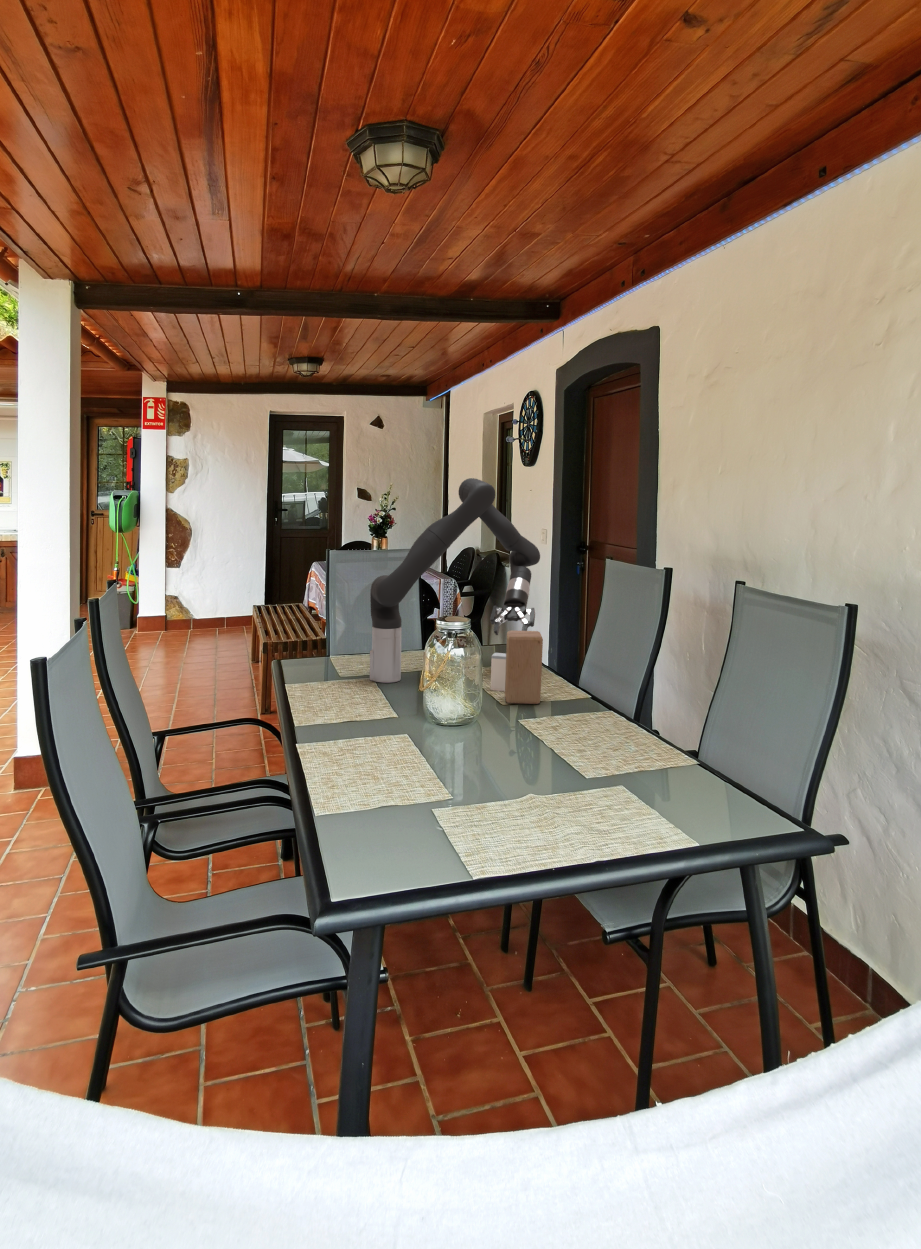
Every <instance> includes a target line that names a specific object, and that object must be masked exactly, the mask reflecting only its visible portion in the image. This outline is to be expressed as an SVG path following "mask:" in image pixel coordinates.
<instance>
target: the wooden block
mask: <svg viewBox="0 0 921 1249" xmlns="http://www.w3.org/2000/svg"><path fill="white" fill-rule="evenodd" d="M543 641H544V640H543V637H542V634H541V631H538V630H527V631H522V630H512V629H511V630H508V631H507V632H506V646H505V647H506V648H505V650H506V651H505V653H506V675H505V691H504V698H505V701H506V703H507V704H518V705H521V704H522V705H523V704H525V705H538V704H540V702H541V695H542V694H541V693H542V669H543V647H544V646H543V645H544V644H543V643H544V642H543Z"/></svg>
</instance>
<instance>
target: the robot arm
mask: <svg viewBox="0 0 921 1249" xmlns="http://www.w3.org/2000/svg"><path fill="white" fill-rule="evenodd" d="M458 487H459V488H458V497H459V500H460V501H461V504H460V505H459V506H458V507H457V508H455V510H453V511H452V512H450V513H449V514H447V515H445V516H444V517H441V518H439V519H438V520H436V521H434V522H432V523H431V524H430V525H428V526H427V528H425V529H424V530H423V532H422V533H420V535H419V536H418V537H417V538H416V539H415V541H414V542H413V544H412V546H411V547H410V549H409V550H408V552H407V555H406V556H405V558H404V559H403V561H402V562H401V563H400V564H399V566H398V567H396V568H395V569H394V571H392V572H391V573H390V574H388V575H385V574H384V575H380V576H378V577H376V578H375V579H374V580H373V581H372V583H371V587H370V596H369V597H370V601H369V602H370V617H371V624H372V626H371V631H372V632H371V633H372V634H371V635H372V636H371V650H370V651H369V681H373V682H375V683H390V684H391V683H396V682H399V681H401V680H402V617H401V614H400V603H401V602H402V600H404V598H405V597H406V596H407V594H408V592H410V590H411V589H412V587H414V585H415V584H416V583H417V581H418V580H419V579H420V578H421V576H423V574H425V573H426V572H427V571H428V570H429V568H431V567H432V566H433V564H435V563H436V562H437V560H438V559H440V558H441V557H442V555H444V554H445V552H446V551H447V550H448V549H449V548H450V547H451V546H452V544H453V543H454V542H455V541H456V540H457V539H459V537H460V536H461V535H462V534H463V533H464V532H465V531H466V529H468V528H469V527H470V525H472V524H473V523H474V522H475V521H476V520H477V519H480V520H481V521H482V522H483V523H484V524H485V525H486V527H487V528H488V529H489V531H491V533H492V534H493V535H494V537H495V538H496V539H497V540H498V542H499V543H500V544H501V545H502V547H503V548H504V549H505V550H506V551H508V552H510V553H509V555H508V559H509V560H508V561H509V567H510V575H509V580H508V584H507V587H506V592H505V597H504V600H503V606H502V607H498V606H497V605H493V606H492V610H491V614H490V617H489V620H490V624H491V625H494V626H493V633H494V634H495V636H499V632H500V627H501V625H502V624H503V623H505V622H507V621H508V622H512V621H513V622H518V621H519V622H520V623H521V624H522V625H521V626H522V628H521V631H528V628H529V627H531V628H532V627H533V628H534V626H535V621H536V620H535V618H536V610H535V607H531V608H530V609H529V608H528V609H527V606H528V602H529V596H530V586H531V580H532V571H531V569H530V568H528V567H532V566H535V565H537V564H538V563H539V562H540V560H541V554H540V553H541V552H540V550H539V549H538V547H537V546H536V545H535V544H534V543H533V542H531V541H530V540H528V539H527V538H526V537H525V536H523V535H521V534H520V531H519V530H518V529H517V527H515V525H514V524H513V522H511V521H510V520H509V519H508V518H507V517H506V516H505V515H504V514H503V513H502V512H500V511H499V509H498V508H496V506H495V505H494V504H493V503H494V501H495V499H496V489H495V487H494V486H493V485H491V484H490V483H489V482H486V481H484V480H481V479H478V478H476V477H475V478H474V477H472V478H466V479H465V480H463V481H462V482H461V483H460V485H459V486H458ZM498 615H499V616H498ZM526 615H528V616H529V620H527V619H526V617H525V616H526ZM497 616H498V617H497Z"/></svg>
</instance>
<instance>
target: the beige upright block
mask: <svg viewBox="0 0 921 1249" xmlns="http://www.w3.org/2000/svg"><path fill="white" fill-rule="evenodd" d="M490 658H491V662H490V663H491V665H490V666H491V667H490V691H498V692H505V675H506V652H505V653H504V652H503V653H502V652H494V653H493V654H492V655H491V657H490Z"/></svg>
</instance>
